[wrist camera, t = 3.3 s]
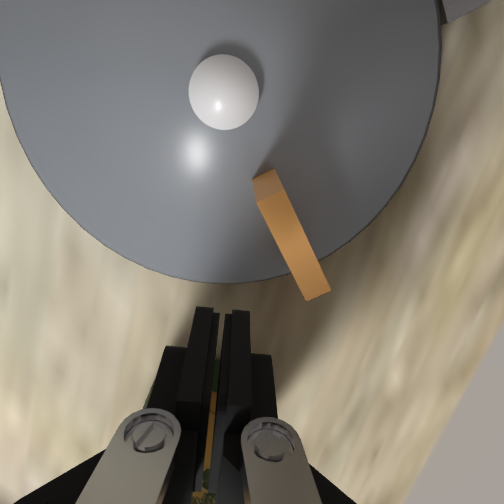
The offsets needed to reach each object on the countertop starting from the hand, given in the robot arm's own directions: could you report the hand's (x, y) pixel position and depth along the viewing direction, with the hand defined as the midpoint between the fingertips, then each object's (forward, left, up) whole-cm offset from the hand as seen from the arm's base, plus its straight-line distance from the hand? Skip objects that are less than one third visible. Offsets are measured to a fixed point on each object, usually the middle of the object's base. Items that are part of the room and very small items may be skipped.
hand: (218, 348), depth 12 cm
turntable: (-6, +3, -10) cm, 12 cm away
